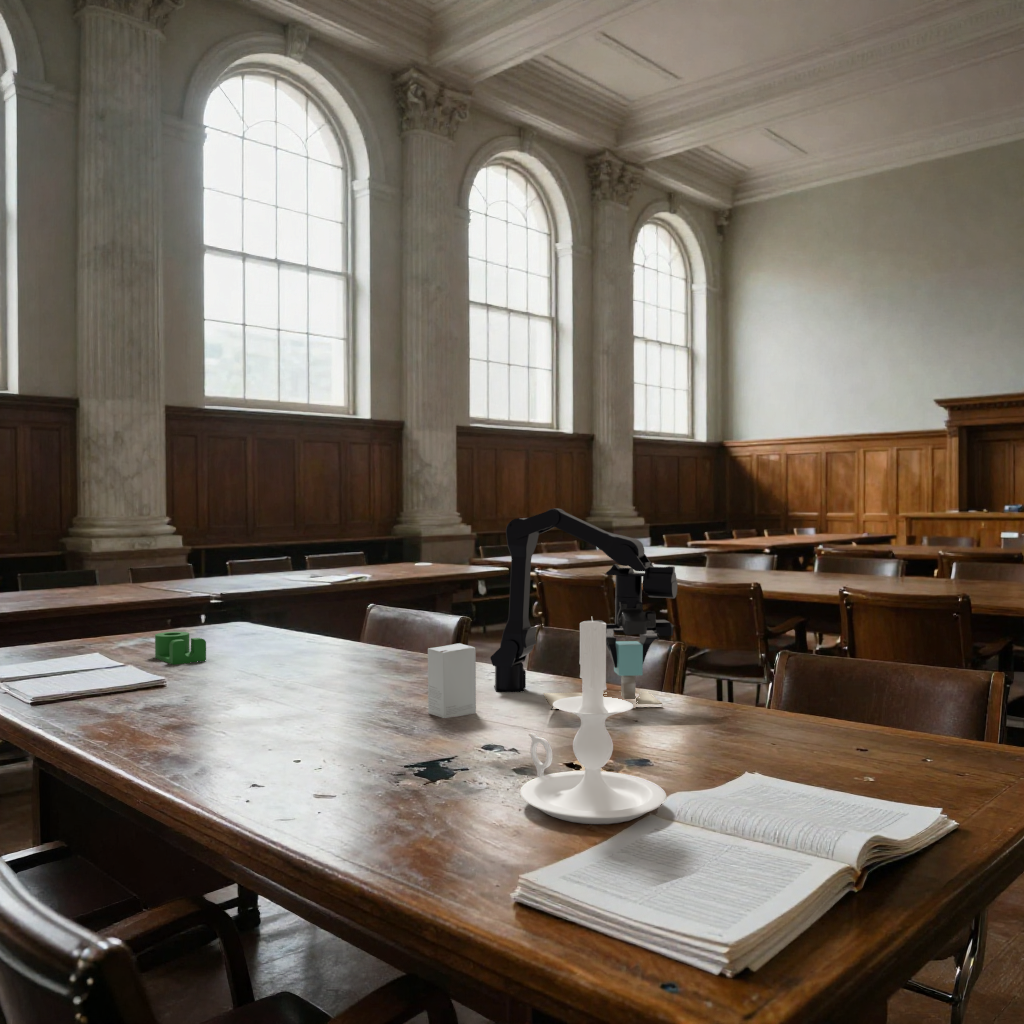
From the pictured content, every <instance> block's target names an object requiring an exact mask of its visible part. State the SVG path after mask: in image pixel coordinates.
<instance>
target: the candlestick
mask: <svg viewBox="0 0 1024 1024" xmlns="http://www.w3.org/2000/svg"><path fill="white" fill-rule="evenodd" d="M591 620H592V621H587V620H584V621H581V622H580V623H579V661H578V662H579V665H580V666H579V667H580V669H579V670H580V673H579V678H580V679H581V683H582V684H581V687H582V689H581V690H582V692H581V693H582V696H577V697H568V698H563V699H559V700H557V701H555V702H554V703H553V706H554V707H555V708H557V709H559V710H558V711H563V712H566V713H570V714H573V715H575V716H577V717H578V718H579V719H580V725H579V729H577V732H576V733H575V735H574V738H573V741H572V751H573V754H574V756H575V758H576V759H577V761H578V763H579V764H580V765H581V766H582V767H583V768H584V770H571V771H560V772H554V773H548V774H545V773H544V771H545V769H547V768H549V767H550V766H551V765H552V762H553V750H552V746H551V744H550V742H549V741H548V740H547V739H546V738H544V737H540V736H539V735H537V734H536V733H534V732H533V733H532V732H531V733H528V736H529V737H530V739H531V744H530V756H531V757H530V758H531V759H532V762H533V764H534V766H535V768H536V774H537V777H535V778H533V779H531V780H528V781H527V782H525V783H524V784H523V785H522V786H521V788H520V790H519V794H520V797H521V799H522V800H523V801H524V802H526V803H527V804H528V805H530V806H532V807H534V808H536V809H538V810H540V811H541V812H542V813H545V814H546V815H549V816H551V817H553V818H556V819H559V820H561V821H566V822H571V823H578V824H584V825H588V824H589V825H612V824H620V823H623V822H624V823H625V822H629V821H632V820H635V819H637V818H640V817H642V816H644V815H645V814H647V813H648V812H652V811H654V810H657V809H658V808H660V807H661V806H662V805H663V804H662V802H663V801H664V800H665V799H666V800H667V797H668V796H667V792H666V791H665V790H664V789H663V788H662V787H661V786H660V785H658V784H656V783H655V782H653V781H650V780H648V779H645V778H643V777H639V776H635V775H631V774H627V773H622V772H621V773H620V772H612V771H603V770H602V768H603V767H604V766H605V765H606V764H607V763H608V762H609V760H610V759H611V757H612V755H613V752H614V743H613V739H612V737H611V734H610V733H609V730H608V729H607V727H606V720H607V718H608V717H611V716H614V715H616V714H617V715H618V714H621V713H627V712H629V711H631V710H633V709H634V708H633V707H634V705H633V704H632V703H631V702H629V701H626V700H622V699H618V698H612V697H603V692H605V691H606V690H607V687H608V686H607V645H606V624H607V623H606V622H605V623H602V622H598V621H593V620H594V618H593V616H591ZM538 744H541V745H542V747H543V748H544V750H545V755H546V756H545V757H546V758H545V761H544V762H542V761H541V760H540V759H539V756H538V753H537V747H538ZM661 804H662V805H661ZM660 805H661V806H660Z"/></svg>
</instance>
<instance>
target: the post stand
mask: <svg viewBox="0 0 1024 1024" xmlns="http://www.w3.org/2000/svg"><path fill="white" fill-rule="evenodd" d="M636 676H637V675H635V676H620V677H621V678H620V692H621V696H622V697H623V698H624V699H635V698H636V696H635V692H636V681H637V680H636ZM604 692H605V693H604ZM607 692H608V691H603V694H607ZM648 692H650V691H648V690H647V691H644V692H642V693H641V694H640V693H639V696H638V697H637V698H636V702H637V701H638V702H637V703H638V704H662V705H663V703H662V701H660V700H659V699H658V698H657V697H656V696H654V695H653V694H652V693H651V694H649V693H648ZM543 694H544V696H545V697H544V696H543V697H544V698H545V700H546V699H547V700H546V702H548V704H549V705H550V707H552V706H553V703H554V702H555V701H557V700H559V699H563V698H568V697H577V696H582V692H543V693H542V695H543ZM604 696H607V695H604ZM604 696H603V697H604ZM639 697H640V698H639ZM637 703H636V704H637ZM632 704H633V703H632Z"/></svg>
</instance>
